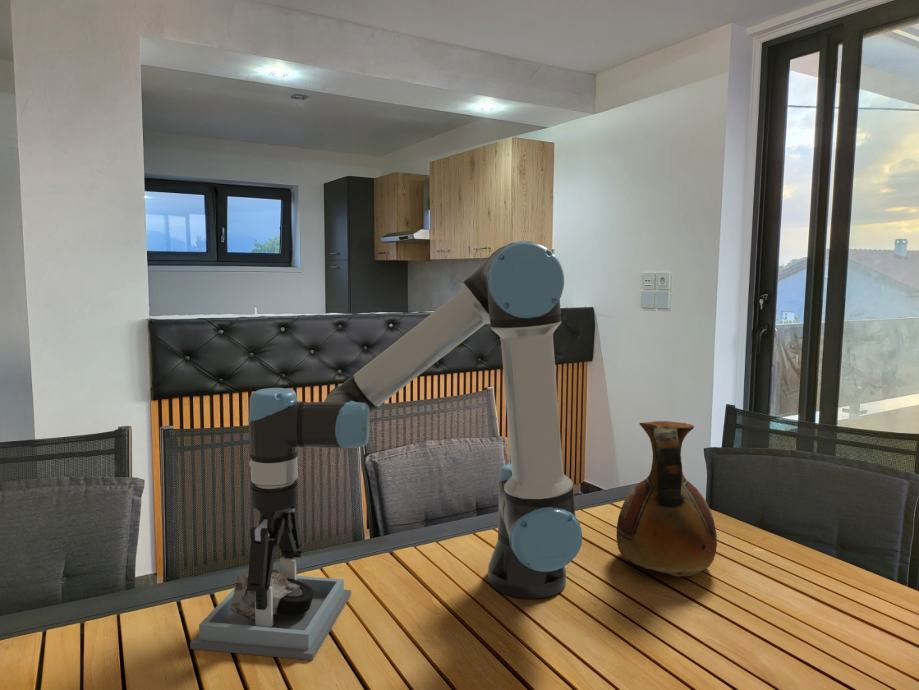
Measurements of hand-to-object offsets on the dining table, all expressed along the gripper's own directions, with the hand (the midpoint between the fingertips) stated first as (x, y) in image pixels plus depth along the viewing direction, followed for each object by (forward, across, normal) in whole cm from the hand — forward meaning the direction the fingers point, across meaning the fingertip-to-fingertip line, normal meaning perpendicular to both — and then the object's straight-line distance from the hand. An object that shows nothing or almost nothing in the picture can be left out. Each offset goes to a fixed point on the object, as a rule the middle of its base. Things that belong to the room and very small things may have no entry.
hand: (277, 608), depth 109 cm
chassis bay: (+2, 0, 0) cm, 2 cm away
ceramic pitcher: (+2, -32, +70) cm, 77 cm away
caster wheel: (0, 0, 0) cm, 1 cm away
